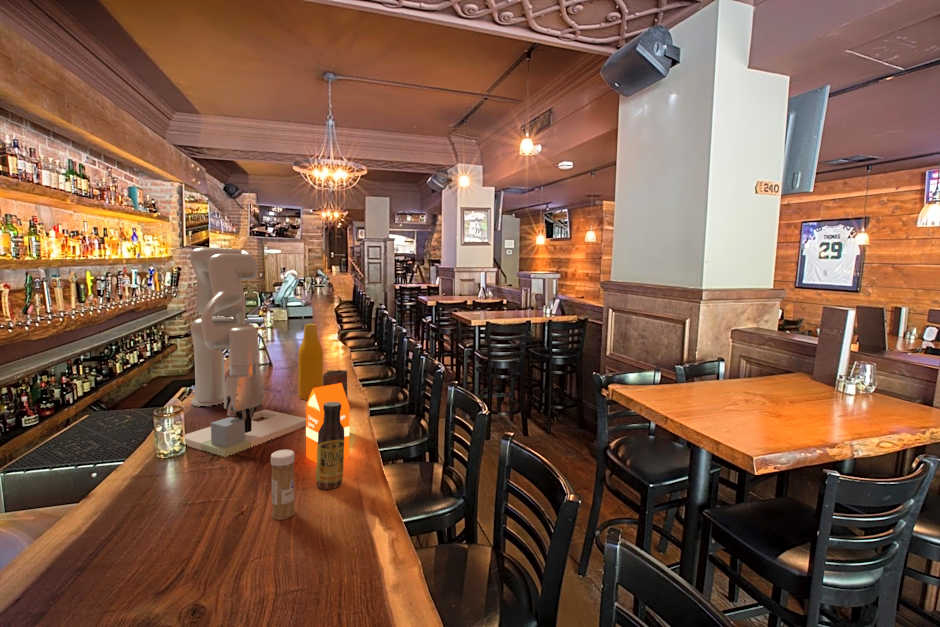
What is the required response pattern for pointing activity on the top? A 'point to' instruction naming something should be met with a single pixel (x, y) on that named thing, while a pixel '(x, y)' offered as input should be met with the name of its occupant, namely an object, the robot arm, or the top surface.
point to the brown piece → (336, 378)
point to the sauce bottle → (330, 448)
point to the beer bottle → (310, 362)
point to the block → (227, 432)
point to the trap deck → (249, 433)
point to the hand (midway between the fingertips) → (245, 431)
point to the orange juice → (317, 416)
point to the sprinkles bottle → (283, 484)
